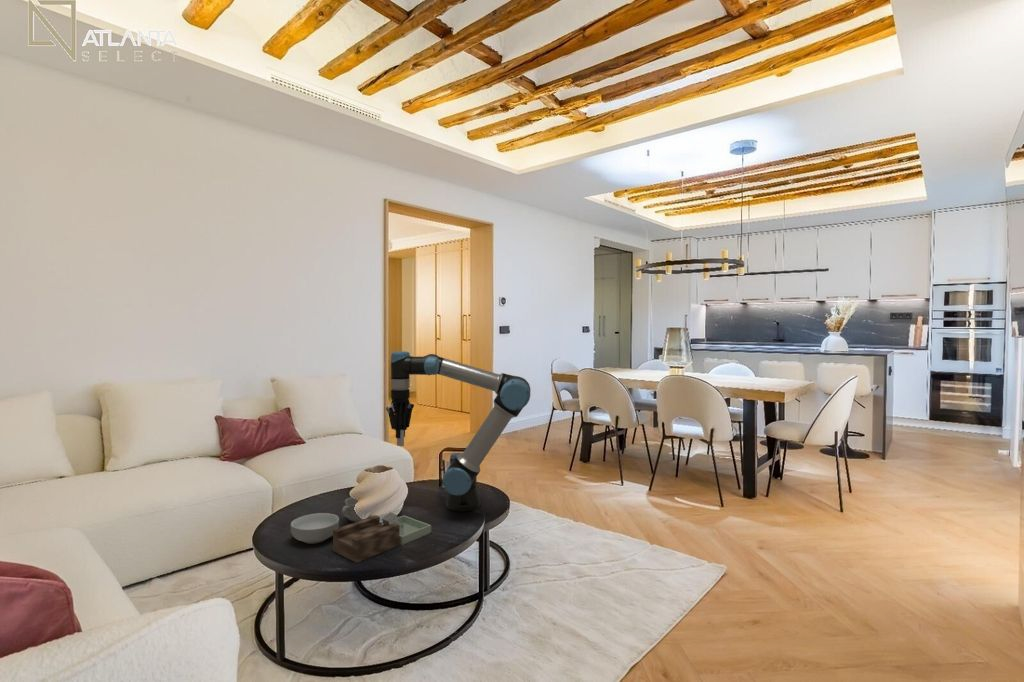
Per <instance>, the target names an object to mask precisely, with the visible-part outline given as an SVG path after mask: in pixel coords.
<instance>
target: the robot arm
mask: <svg viewBox="0 0 1024 682" xmlns="http://www.w3.org/2000/svg"><path fill="white" fill-rule="evenodd" d="M390 355H391V356H390V388H391V390H390V398H391V403H390V405H389V406H387V407H386V408H385V410H386V411H387V413H388V418H389V423H390V428H391V430H393V431H395V438H396V446H398V447H403V446H405V437H406V430H408V428H409V427H410V424H411V423H410V422H411V418H412V413H413V409H414V406H415V404H413V403H411V402H410V398H411V397H410V392H411V391H410V390H411V389H409V388H410V384H411V383H410V376H415V375H418V376H419V375H420V376H421V375H423V376H424V375H425V376H435V375H439V376H443V377H446V378H449V379H453V380H456V381H460V382H463V383H465V384H469V385H473V386H476V387H479V388H484V389H486V390H488V391H489V390H490V391H492V392H494V393H495V394H496V396H495V398H494V399H493V408H492V409H491V410H490V412H489V413H488V415H487V416H486V418H485V419H484V421H483V422H482V424H481V425H480V426H479V428H478V430H477V431H476V433H475V434H474V436H473V437H472V438H471V439H470V442H469V443H468V445H467V447H465V449H464V451H463V452H454V453H451V454H450V456H449V466H448V468H447V469H446V471H445V472H444V473H443V476H442V486H443V487H444V489H445V491H446V492H447V498H446V500H445V507H446V509H448V510H451V511H455V512H470V511H475V510H477V509H479V508H480V507H481V497H480V495H479V492H478V487H477V484H478V483H477V481H478V480H477V477H478V476H479V474H480V472H481V464H482V463H483V461H484V459H485V458H486V457H487V455H488V454H489V452H490V451H491V449H492V448H493V446H494V445H495V443H496V442H497V440H498V439H499V438H500V436H501V434H502V433H503V432H504V430H505V429H506V427H507V426H508V424H509V422H510V421H511V420H512V419H513V418H518V416H519V415H520V413H521V412H522V410H523V409H524V408H525V407H526V406H527V405H528V403H529V401H530V398H531V386H530V383H529V382H528V380H526V379H525V378H524V377H522V376H517V375H512V374H509V373H504V372H501V373H500V374H499V373H496V372H492V371H489V370H486V369H482V368H479V367H475V366H471V365H470V364H469V365H468V364H466V363H462V362H458V361H455V360H451V359H449V358H445V357H441V356H439V355H437V354H434V353H428V354H426V355H423V356H414V355H413V356H411V355H410V352H409V351H404V350H401V351H399V350H398V351H397V350H396V351H393V352H392V353H391V354H390Z"/></svg>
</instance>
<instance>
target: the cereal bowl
mask: <svg viewBox="0 0 1024 682" xmlns="http://www.w3.org/2000/svg"><path fill="white" fill-rule="evenodd" d="M339 526H340V518H339V516H338V515H337V514H335V513H334V514H333V513H328V512H317V513H310V514H305V515H302V516H300V517H297V518H295V519H293V520H292V521H291V522H290V532H291V535H292V537H293V538H294V539H296V540H297V541H300V542H303V543H305V544H312V545H314V544H318V543H323V542H325V541H326V540H327V539H329V538H331V537H333V530H335V529H338V528H340V527H339Z"/></svg>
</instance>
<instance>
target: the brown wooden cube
mask: <svg viewBox="0 0 1024 682" xmlns="http://www.w3.org/2000/svg"><path fill="white" fill-rule="evenodd" d="M398 517H399V516H398V515H397V514H395V513H393V512H391V511H389V512H388V513H386V515H385V516H384V517H382V518H381V520H382V523H383V524H384V525H385V526H388V525H391V524H393V523H397V524H400V523H399V520H398Z"/></svg>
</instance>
